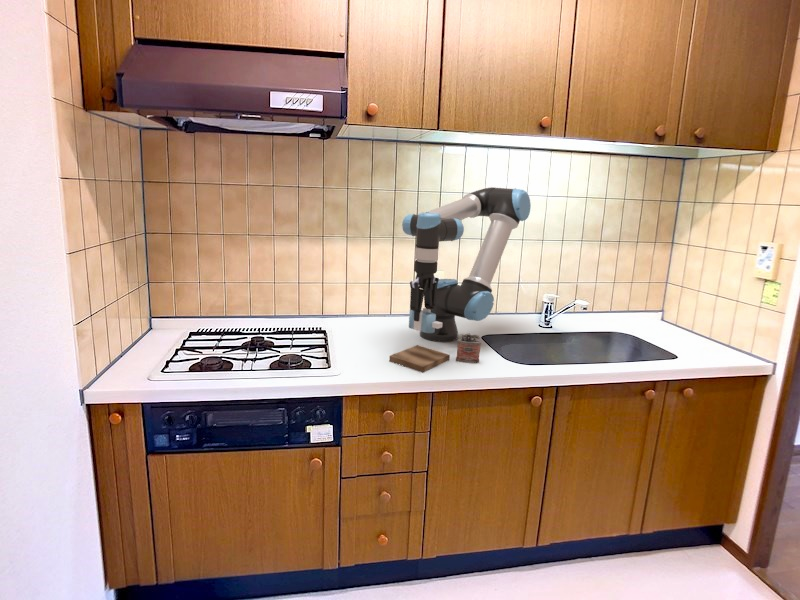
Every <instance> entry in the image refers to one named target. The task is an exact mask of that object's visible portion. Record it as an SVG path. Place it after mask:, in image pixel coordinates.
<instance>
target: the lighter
mask: <svg viewBox="0 0 800 600" xmlns="http://www.w3.org/2000/svg"><path fill="white" fill-rule="evenodd" d="M480 337H481V336H480V335H479V334H471V333H470V332H469V333H461V338H457V352H456V357H455V360H456V362H460V363H466V364H468V363H469V364H479V363H480V351H481V345H482V341H481V340H480Z"/></svg>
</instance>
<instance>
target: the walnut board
mask: <svg viewBox="0 0 800 600" xmlns="http://www.w3.org/2000/svg"><path fill="white" fill-rule="evenodd" d="M450 357H451V356H450V354H448V353H445V352H442V351H438V350H435V349H432V348H429V347H425V346H422V345H418V344H417V345H413V346H412V347H409V348H406V349H403V350H401V351H399V352H396V353H393V354H390V355H389V362H390V361H391V362H390V363H393V362H394V363H393V364H396V363H397V365H399V364H400V365H399V366H402V365H403V366H402V367H405V366H406V367H405V368H408V369H411V370H413V371H417V372H420V373H425V372H427V371H429V370H432V369H433V368H435V367H437V366H440V365H442V364H444V363H446V362H449V361H450Z"/></svg>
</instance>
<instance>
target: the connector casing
mask: <svg viewBox="0 0 800 600" xmlns="http://www.w3.org/2000/svg"><path fill="white" fill-rule="evenodd" d="M421 312H423V313H422V327H421V332H425V333H434V332H435V328H437V329H439V328H442V324H443V323H442V322H438V321H435V320H436V314H434V313H431V312H427V311H423V309H421ZM408 328H409V329H411V330H414V311H412V310H410V309H409V317H408Z"/></svg>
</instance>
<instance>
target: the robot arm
mask: <svg viewBox="0 0 800 600" xmlns="http://www.w3.org/2000/svg"><path fill="white" fill-rule="evenodd" d="M531 204H532V203H531V199H530V195H529V193H528V192H527V191H526V190H524V189H520V188H519V189H518V188H516V187H515V188H506V187H505V188H503V187H493V186H492V187H491V186H490V187H486V188H481V189H478V190H475V191H472V192H469V193H467V194H465V195H463V197H462V198H460V199H458V200H455V201H452V202H450V203H447V204H444V205H442V206H439V207H436V208H434V209H430V210H428V211H426V212H420V213H418V214H415V213H413V214H412V213H411V214H409V213H408V214H407V215H405V216H404V218H403V220H402V225H401V226H402V231H403V233H404V234H405V235H407V236H412V237H415V238H416V239H415V253H414V255H415V256H414V257H415V258H414V259H415V260H414V267H413V268H414V269H413V271H414V272H415V273H416V276H415V280H413V281H412V280H410V282H409V287H410V301H409V302H410V303H409V311H410V310H412V311H414V329H413V330H415V331H418V332H419V336H420V337H421V338H423V339H425V340H428V341H433V342H441V343H442V342H444V343H445V342H453V341H456V340H458V339H459V338H458V336H459V331H458V326H457V323H456V317H459V318H463V319H466V320H468V321H476V322H480V321H481V322H482V321H483V320H484V319H486V318H487V317H488V316H489V314H491V312H492V310H493V306H494V302H495V297H494V295H493V293H492V292H493V289H492V287H491V284H492V280H493V279H494V276H495V274H496V271H497V268H498V266H499V263H500V260H501V258H502V256H503V253H504V251H505V248H506V246H507V244H508V240H510V239H509V238H510V236H511V233H512V231H513V230H515V229H517V228H518V227H519V224H520V221H521V222H524V221H526V220H528V218H529V215H530V213H531ZM477 217H488V218H489V220H490V224H489V226H488V228H487V231H486V233H485V236H484V238H483V241H482V244H481V245H480V248H479V251H478V253H477V256H476V258H475V261H474V263H473V266H472V268H471V271H470V273H469V275H468V276H467V277H466V278H465V277H464V278H463V280H462V282H461V285H460V284H459V282H458V280H457V279H455V278H439V277H435V275H434V274H436V273H438V262H437V261H438V260H439V248H440V247H439V246H440V242H449V241H450V242H455V241H457V240H460V239H461V238H462V236H464V231H465V229H464V227H465V226H464V224H463V222H462V220H465V219H468V218H470V219H472V218H473V219H474V218H477ZM423 302H424V303H423ZM423 305H424V307H423ZM422 307H423V308H422ZM421 310H423V311H427V312H431V313H434V314H436V320H435V321H438V322H442V323H443V324H442V328H439V329H437V328H435V332H434V333H425V332H421V327H422V313H423V312H421Z"/></svg>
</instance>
